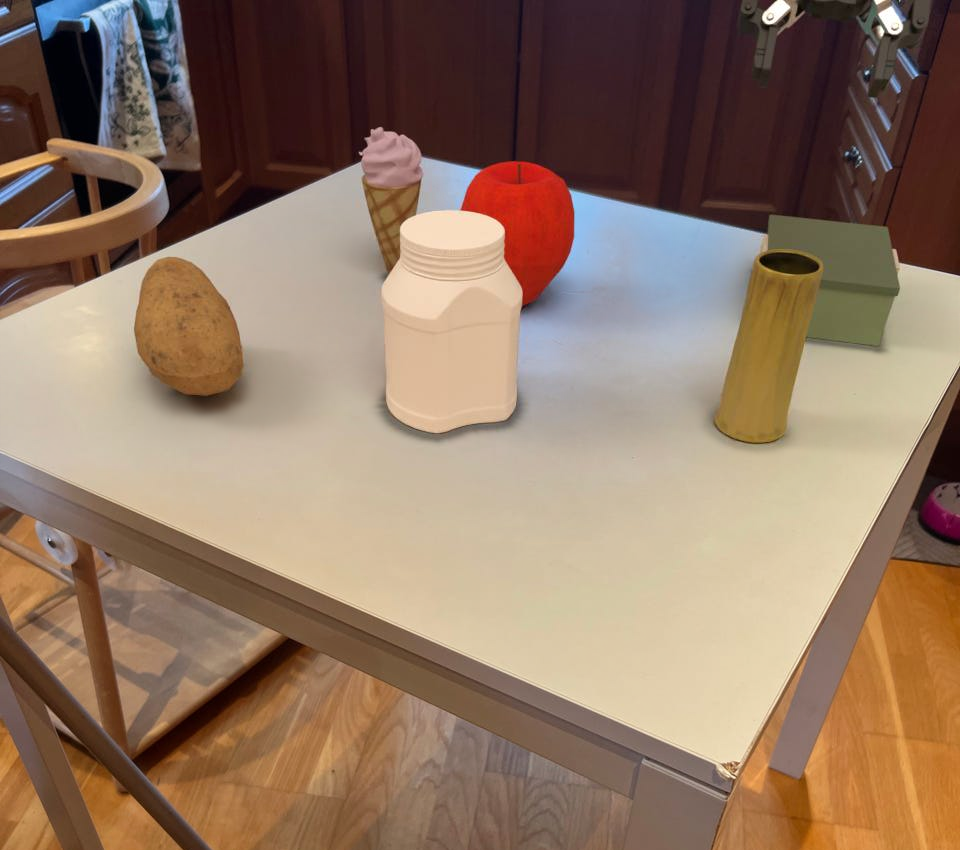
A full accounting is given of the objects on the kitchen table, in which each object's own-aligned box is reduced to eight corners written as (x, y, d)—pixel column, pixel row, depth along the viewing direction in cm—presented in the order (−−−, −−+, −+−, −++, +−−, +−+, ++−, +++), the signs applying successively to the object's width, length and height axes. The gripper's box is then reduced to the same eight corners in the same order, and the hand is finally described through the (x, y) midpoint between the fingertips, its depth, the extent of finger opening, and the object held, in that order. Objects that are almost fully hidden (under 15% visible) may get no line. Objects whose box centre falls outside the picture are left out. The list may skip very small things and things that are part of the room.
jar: (490, 366, 91) (496, 200, 81) (532, 415, 84) (545, 242, 74) (372, 386, 87) (363, 215, 77) (407, 439, 81) (402, 261, 71)
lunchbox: (875, 282, 107) (892, 227, 103) (886, 348, 96) (905, 288, 91) (753, 268, 109) (765, 213, 105) (748, 331, 98) (761, 272, 94)
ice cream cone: (352, 272, 106) (342, 122, 96) (395, 257, 109) (390, 111, 99) (392, 291, 102) (386, 138, 92) (435, 276, 106) (434, 125, 95)
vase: (780, 410, 86) (823, 248, 76) (790, 446, 82) (836, 280, 72) (711, 405, 86) (745, 244, 77) (717, 441, 82) (753, 275, 72)
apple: (590, 314, 100) (605, 177, 90) (487, 334, 96) (492, 192, 87) (536, 271, 107) (545, 140, 98) (439, 288, 103) (438, 153, 94)
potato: (152, 432, 81) (127, 326, 74) (141, 349, 92) (119, 250, 85) (256, 419, 83) (241, 314, 77) (234, 339, 94) (218, 241, 87)
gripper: (770, -159, 74) (733, 47, 74) (965, -148, 72) (928, 64, 71) (756, -81, 81) (722, 106, 81) (933, -70, 79) (898, 123, 79)
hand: (818, 86), depth 76 cm, fingers open, 8 cm apart
